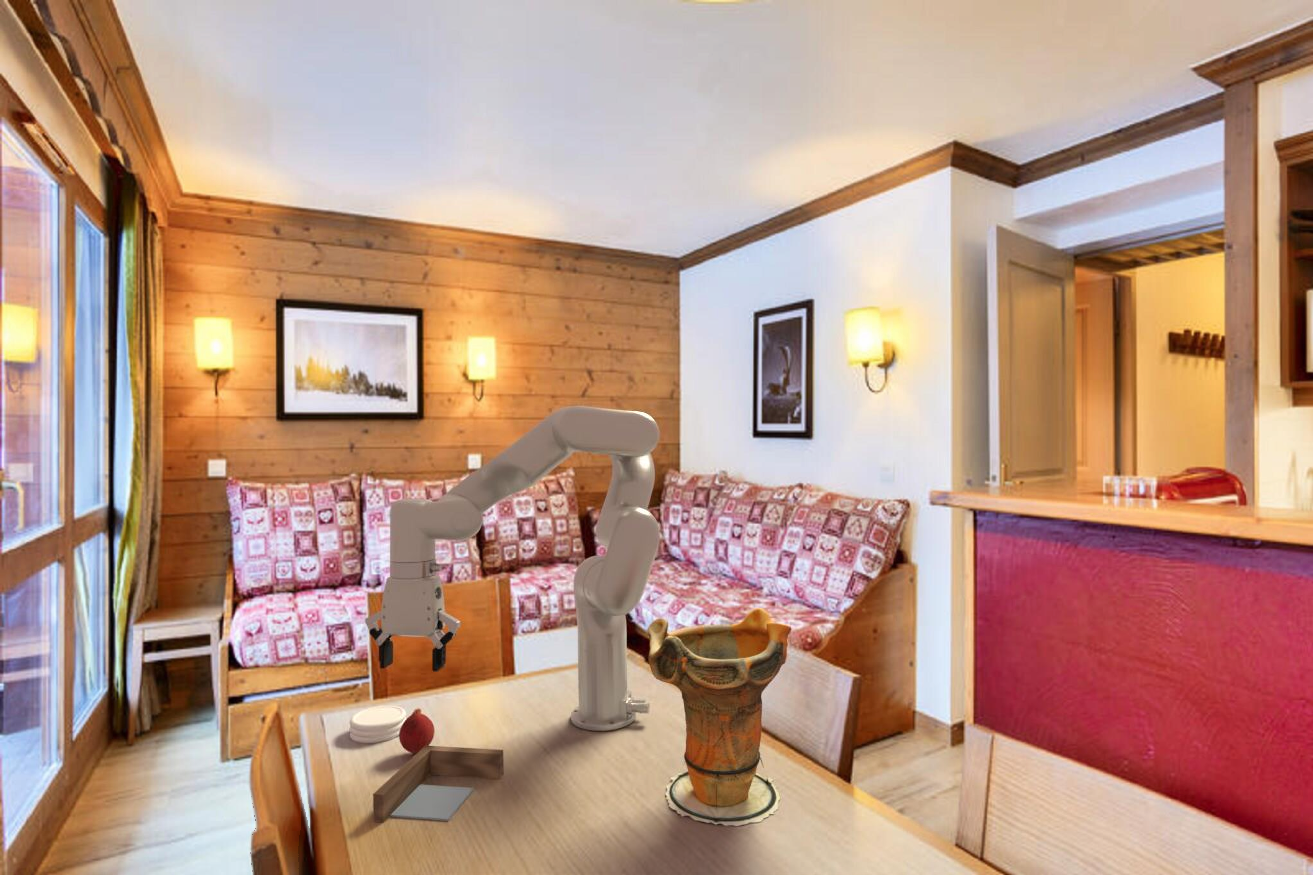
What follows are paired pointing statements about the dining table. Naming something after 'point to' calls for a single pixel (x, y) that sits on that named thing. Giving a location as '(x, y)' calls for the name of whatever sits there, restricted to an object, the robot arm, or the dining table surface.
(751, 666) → the decorative vase
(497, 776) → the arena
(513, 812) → the dining table surface
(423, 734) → the onion
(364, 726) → the coaster
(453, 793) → the pad
